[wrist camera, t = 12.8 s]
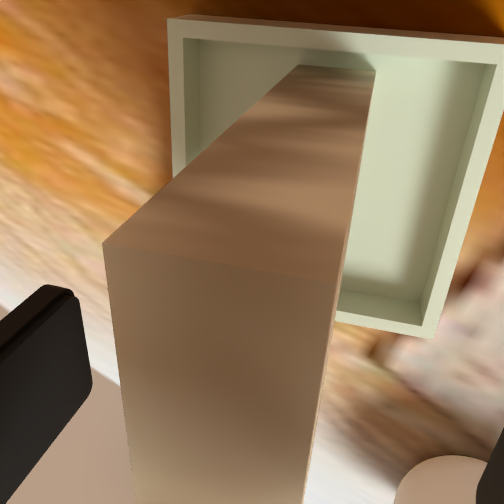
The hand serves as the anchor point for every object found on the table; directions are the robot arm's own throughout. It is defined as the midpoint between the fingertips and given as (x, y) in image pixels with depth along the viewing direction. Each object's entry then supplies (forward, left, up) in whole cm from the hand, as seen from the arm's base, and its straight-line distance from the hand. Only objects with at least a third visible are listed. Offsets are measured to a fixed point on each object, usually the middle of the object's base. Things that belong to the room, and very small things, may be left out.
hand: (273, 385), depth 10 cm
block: (0, 0, -12) cm, 12 cm away
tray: (+1, 0, -13) cm, 13 cm away
